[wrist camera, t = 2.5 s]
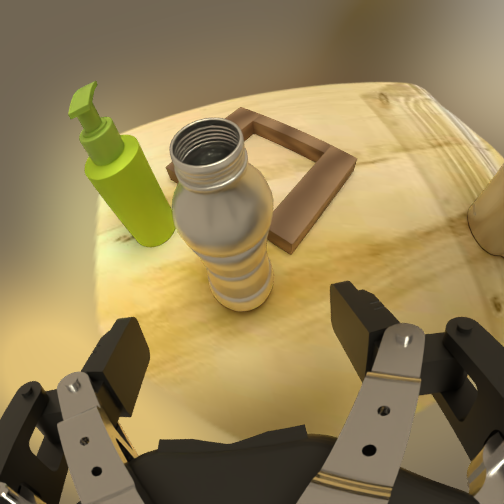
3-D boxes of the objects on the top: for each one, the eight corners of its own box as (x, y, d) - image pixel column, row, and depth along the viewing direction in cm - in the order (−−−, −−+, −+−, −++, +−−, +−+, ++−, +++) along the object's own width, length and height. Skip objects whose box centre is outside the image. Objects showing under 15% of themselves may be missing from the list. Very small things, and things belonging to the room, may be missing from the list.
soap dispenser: (170, 196, 36) (114, 67, 19) (180, 237, 33) (109, 100, 16) (131, 210, 36) (59, 94, 18) (136, 253, 33) (42, 135, 15)
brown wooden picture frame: (353, 170, 37) (357, 158, 34) (291, 254, 32) (292, 244, 29) (242, 118, 43) (240, 106, 41) (170, 179, 38) (165, 167, 36)
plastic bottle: (214, 317, 29) (127, 205, 11) (214, 259, 32) (155, 111, 14) (275, 314, 29) (282, 190, 11) (271, 255, 32) (268, 97, 14)
